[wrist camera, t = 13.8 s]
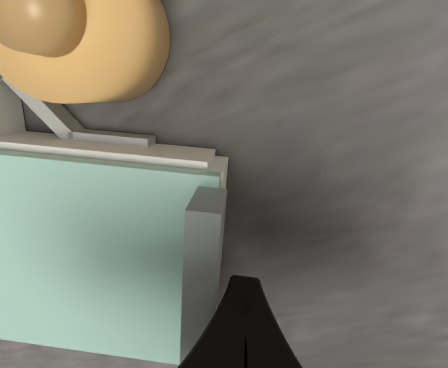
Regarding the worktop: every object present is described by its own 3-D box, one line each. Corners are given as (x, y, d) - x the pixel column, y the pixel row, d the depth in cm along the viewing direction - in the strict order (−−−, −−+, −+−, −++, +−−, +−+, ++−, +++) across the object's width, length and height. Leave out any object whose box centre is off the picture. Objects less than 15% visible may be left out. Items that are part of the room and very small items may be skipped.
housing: (214, 316, 15) (208, 356, 13) (41, 293, 16) (6, 327, 13) (251, -105, 9) (251, -170, 7) (-29, -116, 10) (-114, -179, 7)
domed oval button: (174, 101, 11) (125, 104, 7) (63, 101, 12) (-43, 105, 8) (165, -43, 10) (96, -147, 6) (38, -34, 10) (-111, -124, 6)
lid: (213, 357, 12) (204, 422, 10) (0, 326, 13) (-58, 381, 11) (229, 172, 10) (222, 200, 7) (-44, 145, 10) (-138, 161, 8)
